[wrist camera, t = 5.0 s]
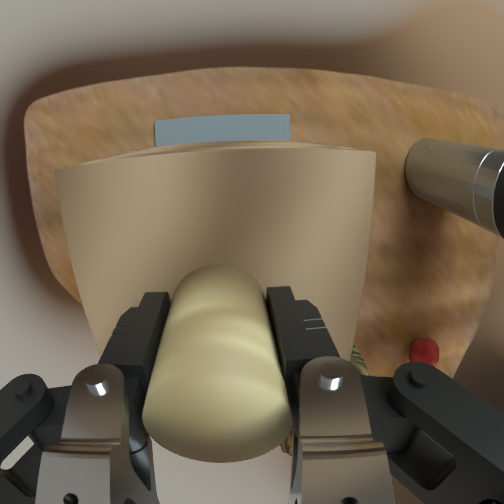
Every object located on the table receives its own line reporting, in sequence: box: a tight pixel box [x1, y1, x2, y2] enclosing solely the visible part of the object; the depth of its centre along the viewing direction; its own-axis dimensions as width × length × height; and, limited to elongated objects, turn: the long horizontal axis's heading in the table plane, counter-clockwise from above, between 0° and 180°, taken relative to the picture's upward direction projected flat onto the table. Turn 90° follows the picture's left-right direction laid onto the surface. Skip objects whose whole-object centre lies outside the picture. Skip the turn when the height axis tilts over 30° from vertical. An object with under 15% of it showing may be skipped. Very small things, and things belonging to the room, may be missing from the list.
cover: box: [55, 140, 376, 463], centre depth 14 cm, size 10×10×19 cm
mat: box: [155, 114, 290, 146], centre depth 36 cm, size 16×16×1 cm
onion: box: [409, 337, 439, 368], centre depth 46 cm, size 6×6×8 cm
